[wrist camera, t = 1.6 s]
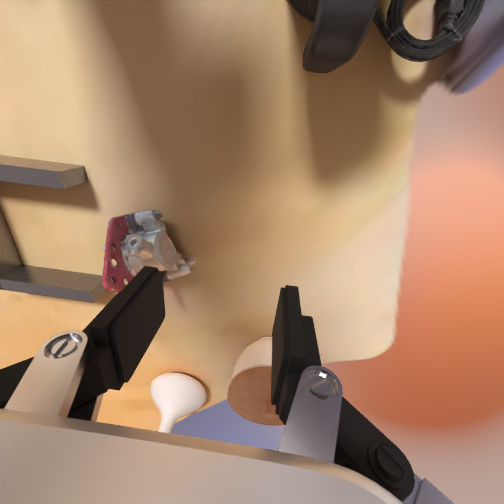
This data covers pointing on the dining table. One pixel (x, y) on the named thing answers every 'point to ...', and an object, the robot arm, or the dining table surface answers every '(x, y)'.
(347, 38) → the milk frother
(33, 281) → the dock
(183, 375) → the flower in vase
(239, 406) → the lidded bowl
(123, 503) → the robot arm
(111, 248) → the brake caliper
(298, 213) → the dining table surface
